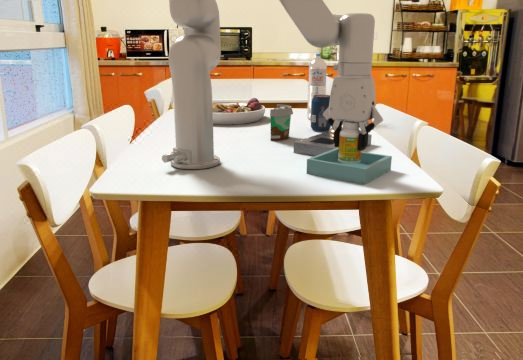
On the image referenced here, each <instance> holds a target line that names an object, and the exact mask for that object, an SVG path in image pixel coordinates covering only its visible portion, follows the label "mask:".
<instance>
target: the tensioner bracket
mask: <svg viewBox="0 0 523 360" xmlns="http://www.w3.org/2000/svg"><path fill="white" fill-rule="evenodd" d="M342 129H344V127H343V126H342ZM372 136H373V135H372V134H370V133H368V145H367V147H368V146H371V145H372ZM334 144H335V143H334V130H333V129H332V127H331V128H330V129H329V131H327V132H322V133H321V132H320V133H318V134H316V135H312V136H309V137H306V138H303V139H299V140H296V141H294V142H293V153H295V154H300V155H308V156H312V157H314V156H317V155H319V154H322V153H325V152H327V151H330V150H332V149H335V148H339V147H335V146H334Z"/></svg>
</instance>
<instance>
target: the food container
mask: <svg viewBox="0 0 523 360" xmlns="http://www.w3.org/2000/svg"><path fill="white" fill-rule="evenodd" d="M269 110H270V111H269V115H270V116H269V117H270V142H278V141H280V142H281V141H286V140H289V138H290V129H291V119H292V118H291V117H292V115H293V114H294V112H293V108H292V106H291V105H288V104H281V103H280V104H279V103H277V104H276V107H275V108H273V109H272V108H271V109H269Z"/></svg>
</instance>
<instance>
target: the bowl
mask: <svg viewBox="0 0 523 360" xmlns="http://www.w3.org/2000/svg"><path fill="white" fill-rule="evenodd" d="M212 103H213V125H216V126H217V125H221V126H226V125H227V126H229V125H232V124H234V125H243V124H245V123H246V124H251V122H252V123H255V122H258V121H260V120H261V119H263V116H264V115H265V113H266V107H265V106H264V105H262V104H261V103H260V101H259V100H258V98H257V97H253V98H250V99H249V100H248V102H241V101H215V102H214V101H212Z"/></svg>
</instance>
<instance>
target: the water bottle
mask: <svg viewBox="0 0 523 360" xmlns="http://www.w3.org/2000/svg"><path fill="white" fill-rule="evenodd" d="M321 55H322V54H321V53H319V52H317V53H315V58H313V59H312V60H311V61H310V62H309V64H308V84H307V92H308V93H307V114H306V115H307V116H306V117H307V120H309V121H311V104H312V99H313V97H314V95H327V93H326V92H327V85H326V84H327V68H328V64H327V63H326V61H325V60H324V58H321Z"/></svg>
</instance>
